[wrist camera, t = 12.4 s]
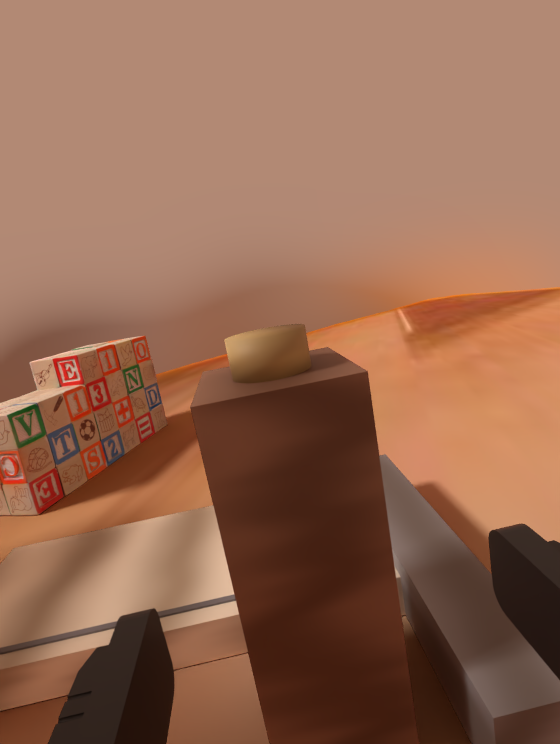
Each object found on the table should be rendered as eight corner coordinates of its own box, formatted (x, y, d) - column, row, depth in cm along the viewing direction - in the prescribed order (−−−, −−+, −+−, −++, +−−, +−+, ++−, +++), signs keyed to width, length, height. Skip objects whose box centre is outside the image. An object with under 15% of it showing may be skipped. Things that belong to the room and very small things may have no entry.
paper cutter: (-308, 1016, 11) (-367, 938, 10) (23, 574, 27) (9, 534, 27) (597, 773, 12) (595, 692, 12) (390, 494, 29) (385, 454, 28)
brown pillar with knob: (283, 802, 13) (178, 359, 10) (270, 672, 17) (195, 338, 14) (421, 764, 13) (361, 324, 10) (374, 646, 18) (322, 313, 15)
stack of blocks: (39, 518, 35) (-8, 378, 33) (-15, 518, 37) (-64, 386, 35) (168, 424, 55) (146, 333, 53) (129, 427, 57) (105, 339, 55)
